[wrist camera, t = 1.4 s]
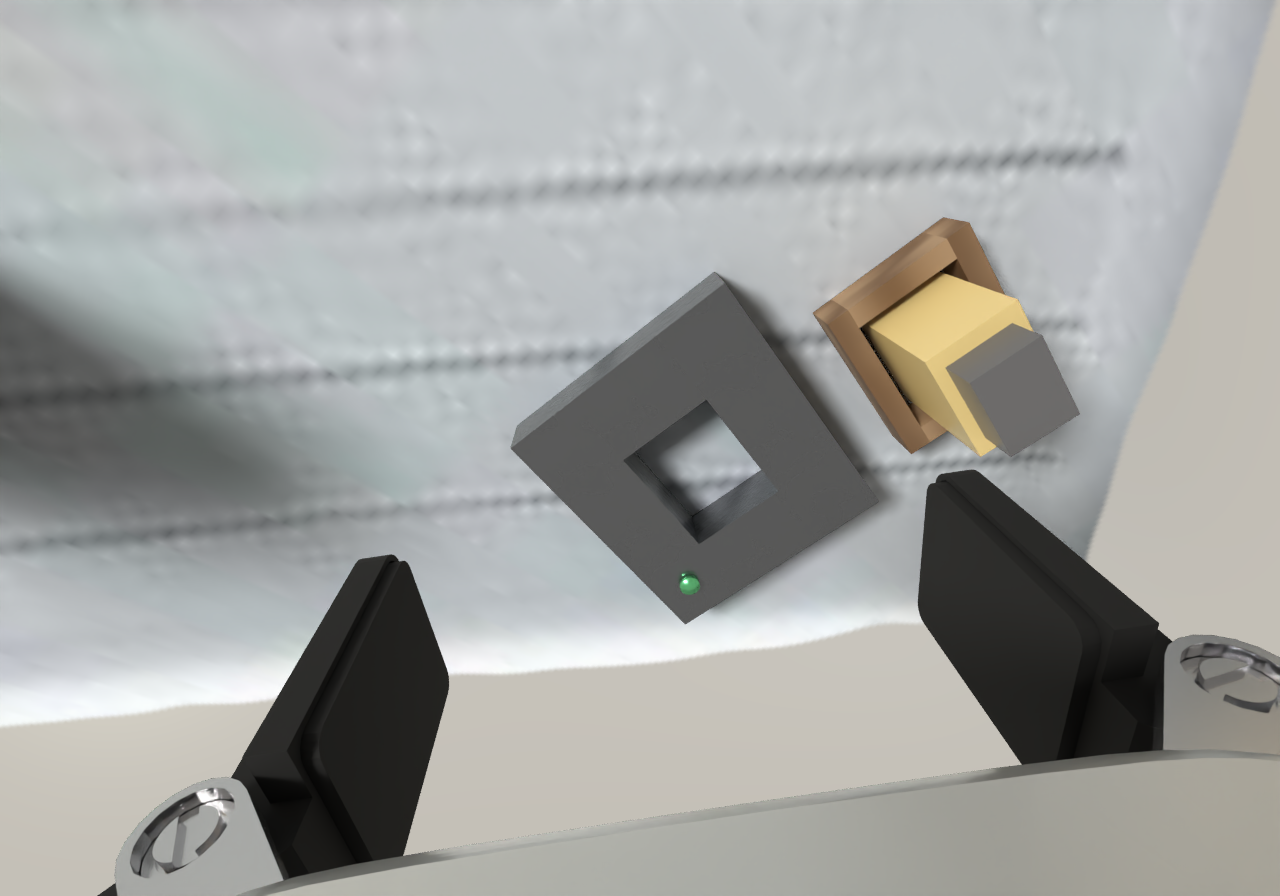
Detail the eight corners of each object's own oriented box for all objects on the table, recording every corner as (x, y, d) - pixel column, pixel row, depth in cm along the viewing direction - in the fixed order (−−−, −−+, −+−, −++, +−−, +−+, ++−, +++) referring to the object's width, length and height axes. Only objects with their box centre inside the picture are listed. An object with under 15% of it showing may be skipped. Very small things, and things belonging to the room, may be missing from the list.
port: (714, 271, 33) (726, 284, 30) (859, 477, 39) (881, 505, 36) (517, 425, 36) (509, 451, 33) (679, 593, 42) (686, 628, 39)
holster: (943, 217, 32) (969, 222, 30) (1014, 355, 36) (1041, 369, 34) (812, 312, 34) (827, 324, 32) (892, 435, 38) (911, 454, 35)
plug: (926, 267, 33) (1048, 310, 24) (972, 351, 36) (1099, 419, 27) (856, 317, 34) (948, 377, 25) (904, 396, 37) (1005, 476, 28)
